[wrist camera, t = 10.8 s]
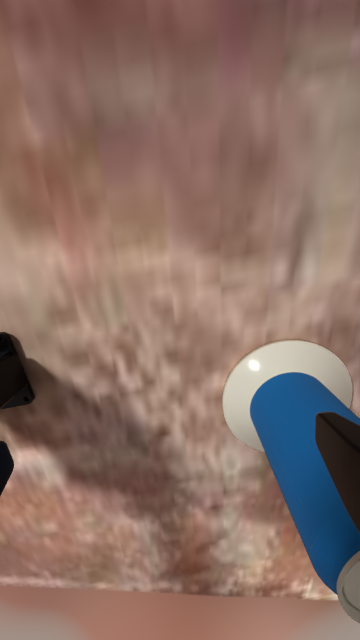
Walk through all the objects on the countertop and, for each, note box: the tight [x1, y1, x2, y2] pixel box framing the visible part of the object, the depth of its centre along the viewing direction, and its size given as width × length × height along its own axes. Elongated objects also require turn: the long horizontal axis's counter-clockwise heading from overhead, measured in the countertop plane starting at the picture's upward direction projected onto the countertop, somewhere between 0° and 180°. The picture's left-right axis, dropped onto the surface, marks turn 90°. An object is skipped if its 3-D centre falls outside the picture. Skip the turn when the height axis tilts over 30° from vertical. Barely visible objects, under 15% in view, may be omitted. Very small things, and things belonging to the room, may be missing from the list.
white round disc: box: [222, 339, 353, 452], centre depth 21 cm, size 11×11×1 cm
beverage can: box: [250, 372, 360, 623], centre depth 15 cm, size 6×6×12 cm
